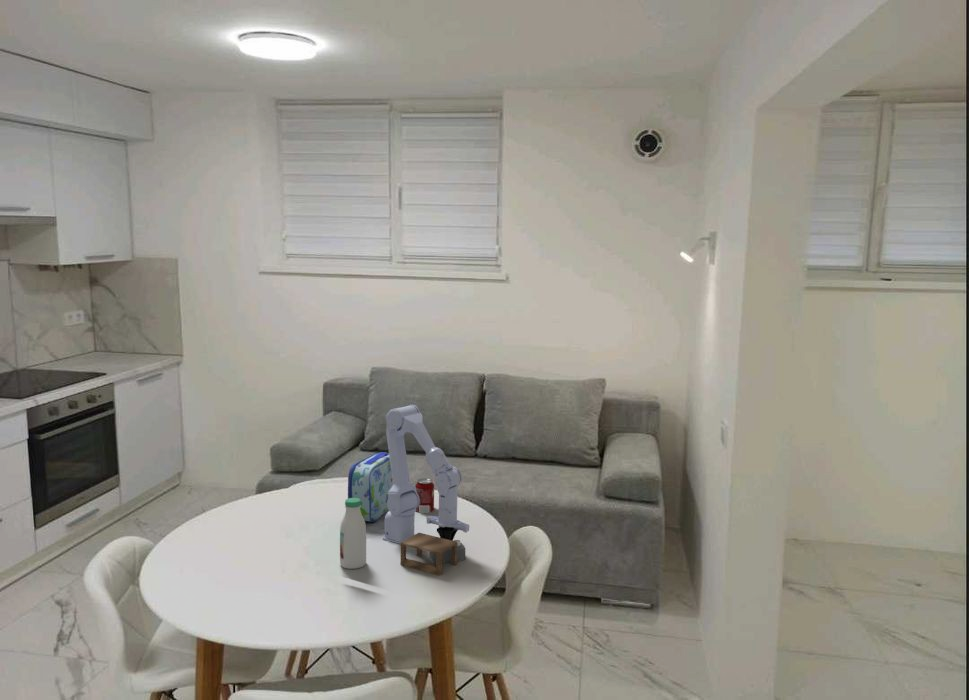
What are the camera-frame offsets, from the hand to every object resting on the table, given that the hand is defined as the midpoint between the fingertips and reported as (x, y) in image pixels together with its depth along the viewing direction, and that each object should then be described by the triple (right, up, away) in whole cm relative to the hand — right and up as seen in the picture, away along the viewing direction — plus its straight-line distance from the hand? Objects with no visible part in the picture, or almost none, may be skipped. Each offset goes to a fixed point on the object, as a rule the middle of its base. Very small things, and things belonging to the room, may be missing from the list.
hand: (447, 549), depth 232 cm
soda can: (-10, +3, +36) cm, 37 cm away
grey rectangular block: (0, -2, -4) cm, 5 cm away
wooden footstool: (-5, -2, -9) cm, 10 cm away
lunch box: (-28, +3, +34) cm, 45 cm away
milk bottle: (-28, -2, -10) cm, 29 cm away
